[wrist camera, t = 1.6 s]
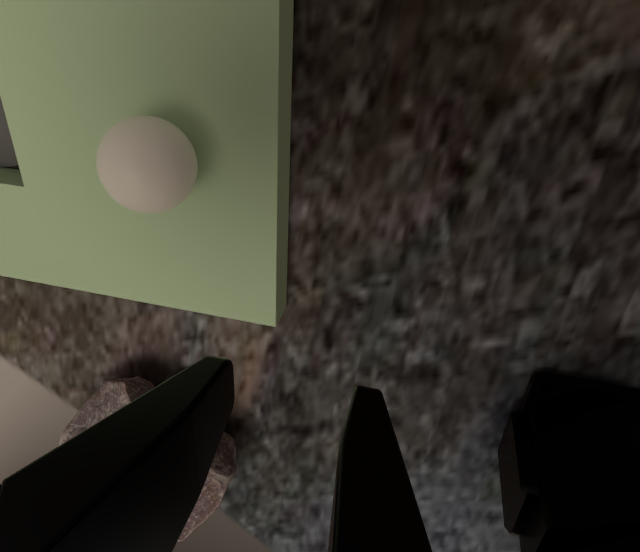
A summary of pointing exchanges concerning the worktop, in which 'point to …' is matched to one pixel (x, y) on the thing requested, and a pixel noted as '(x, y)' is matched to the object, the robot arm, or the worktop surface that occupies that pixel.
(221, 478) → the rock
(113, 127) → the ball
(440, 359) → the worktop surface
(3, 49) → the board
